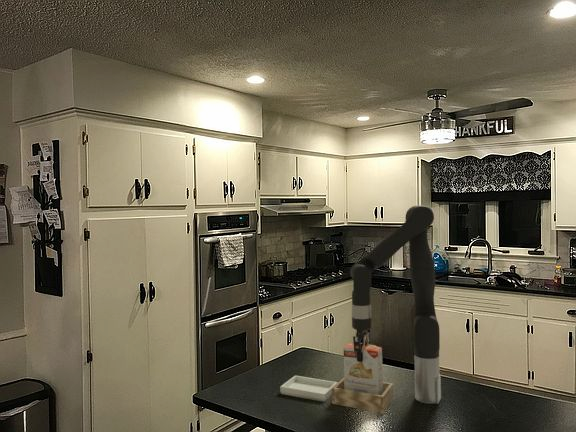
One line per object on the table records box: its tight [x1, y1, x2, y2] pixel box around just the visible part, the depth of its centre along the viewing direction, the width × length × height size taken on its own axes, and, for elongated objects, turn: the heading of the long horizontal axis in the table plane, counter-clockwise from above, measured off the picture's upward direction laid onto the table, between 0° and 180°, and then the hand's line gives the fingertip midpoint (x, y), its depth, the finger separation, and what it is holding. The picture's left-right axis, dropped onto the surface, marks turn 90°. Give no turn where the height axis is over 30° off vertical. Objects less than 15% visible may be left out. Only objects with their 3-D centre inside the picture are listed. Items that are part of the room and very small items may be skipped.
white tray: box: [279, 375, 339, 403], centre depth 194 cm, size 20×14×3 cm
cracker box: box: [343, 342, 384, 395], centre depth 183 cm, size 14×6×21 cm, turn 62°
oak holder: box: [331, 377, 395, 414], centre depth 183 cm, size 20×14×6 cm
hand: (362, 358), depth 183 cm, fingers closed on cracker box, 6 cm apart
